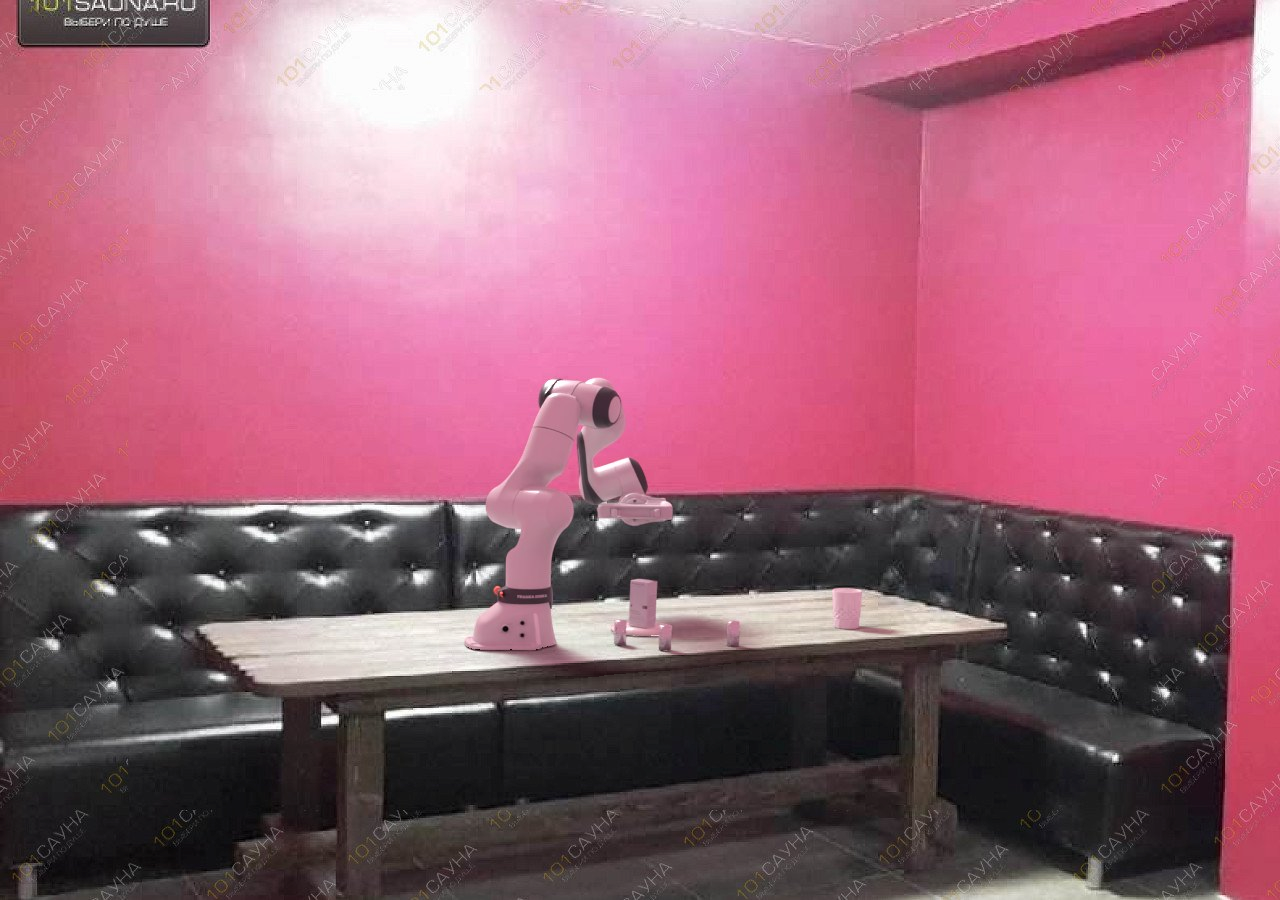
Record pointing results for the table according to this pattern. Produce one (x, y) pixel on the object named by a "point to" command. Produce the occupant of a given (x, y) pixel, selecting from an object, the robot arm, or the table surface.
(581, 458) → the robot arm
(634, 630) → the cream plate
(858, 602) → the pink cup
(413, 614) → the table surface
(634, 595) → the skincare box
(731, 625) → the posts
